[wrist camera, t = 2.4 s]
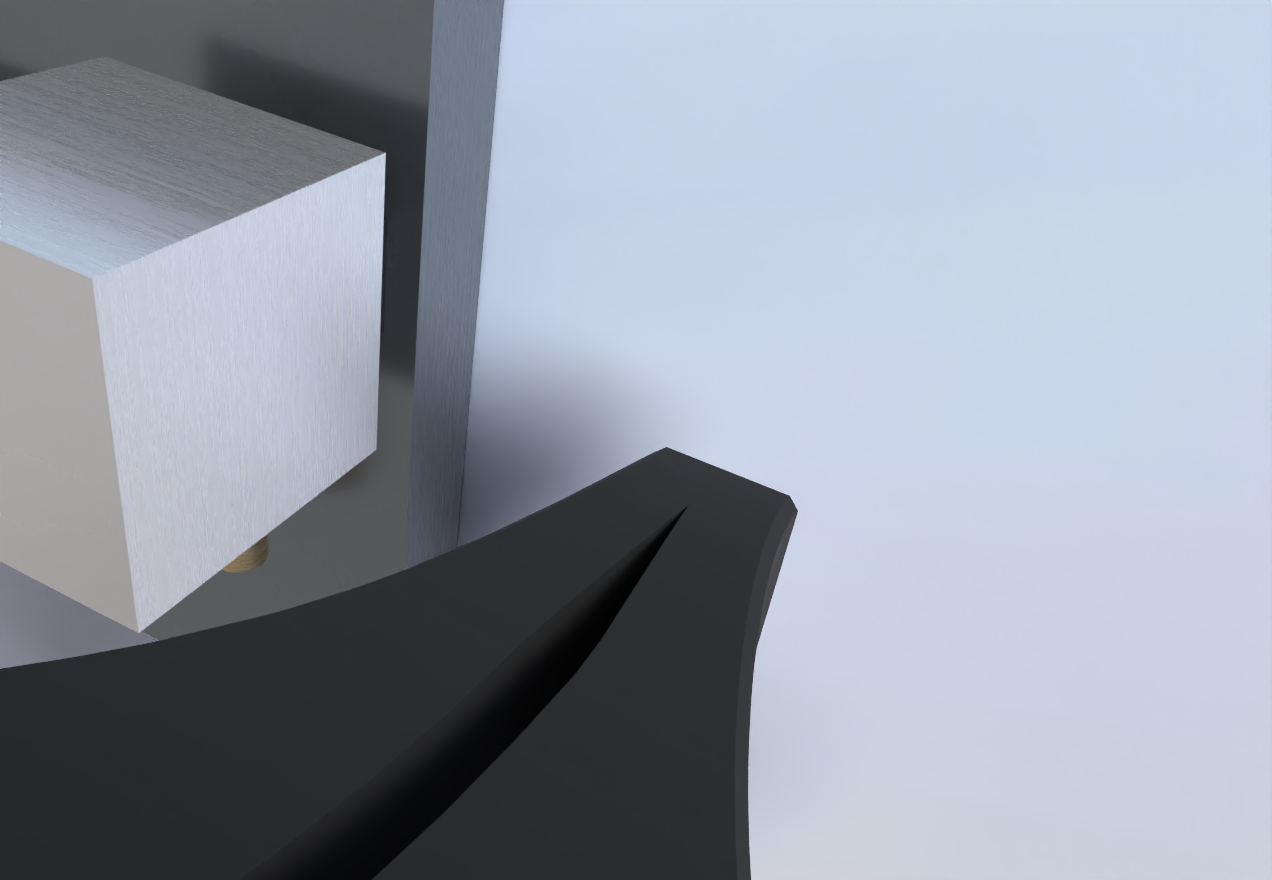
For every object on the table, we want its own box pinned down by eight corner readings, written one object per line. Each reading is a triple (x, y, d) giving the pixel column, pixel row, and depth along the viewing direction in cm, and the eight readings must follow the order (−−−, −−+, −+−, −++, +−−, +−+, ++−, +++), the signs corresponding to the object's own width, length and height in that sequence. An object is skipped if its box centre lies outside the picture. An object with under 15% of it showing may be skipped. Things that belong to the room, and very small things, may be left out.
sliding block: (390, 574, 16) (159, 791, 13) (174, 474, 17) (-95, 648, 14) (409, 142, 13) (92, 279, 9) (134, 50, 14) (-246, 139, 10)
